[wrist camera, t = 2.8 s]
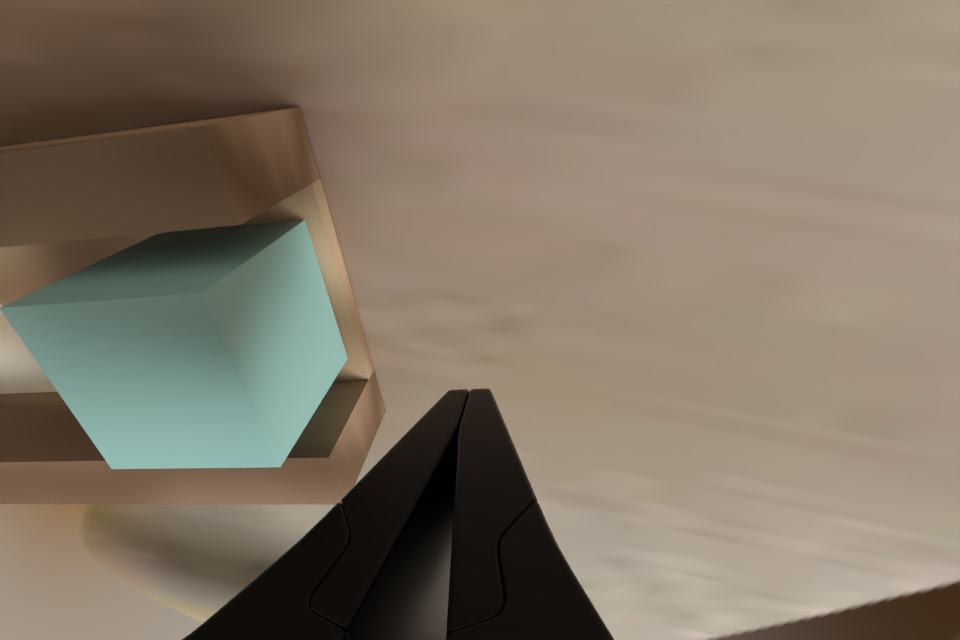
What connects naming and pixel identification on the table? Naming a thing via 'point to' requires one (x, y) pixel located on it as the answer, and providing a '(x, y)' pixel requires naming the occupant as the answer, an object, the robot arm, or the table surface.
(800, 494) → the table surface
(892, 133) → the table surface
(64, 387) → the teal block
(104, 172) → the chute
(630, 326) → the table surface
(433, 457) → the robot arm
